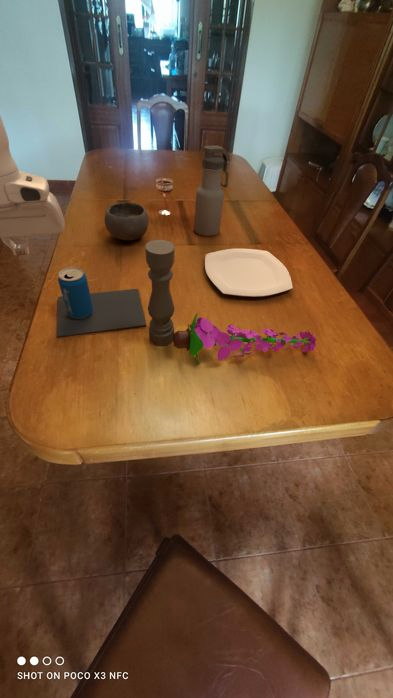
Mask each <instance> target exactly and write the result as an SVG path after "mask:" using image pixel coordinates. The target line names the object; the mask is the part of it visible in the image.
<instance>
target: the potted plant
mask: <svg viewBox="0 0 393 698" xmlns="http://www.w3.org/2000/svg"><path fill="white" fill-rule="evenodd" d="M198 313H199V312H198V311H197V312H196V313H195V316H194V317H193V319H192V321H191V323H188V324H187V328H186V330H177V331H175V332H174V335H173V342H172V344H173V347H175V348H176V349H179V350H180V349H185V350H186V351H187V352H188V351H189V355H190V356H191V357H195V359H196V360H197V362H198V364H200V359H199V354H198V353H199V352H200V351H202V349H203V348H205V349H206V350H209V349H211V348H212V347H217V345H218V346H221V347H220V348H219V349H218V350H217V353H216V358H217V360H218V361H223V360H226V359H227V358H229V356H230V355H231V353H232V352H236V351H238V350H240V352H241V354H237V355H233V356H231V358H236V359H238V358H242V357H246V356H249V355H251V354H253V353H255V352H256V351H260V350H262V351H263V352H265V353H266V352H268V351H269V349H271V350H273V352H274V353H276V352H278V351H280V350H281V349H283V348H284V347H285V346H286V348H285V351H286V350H288V348H289V346H288V344H291V345H290V349H292V348H293V349H298V348H299V347H300V346H302V345H303V346H304V347H303V348H302V350H301V352H302V353H307V352H308V351H309V352H313V351H314V350H315V349H316V342H317V338H316V337H315V336H314V334H313V332H310V331H309V329H307V330H306V331H299V335H298V334H294V335H293V336H292V337H290V336H289V335H288V334H287V333H285V332H283V331H282V332H275V331H274V329H272V328H264V329H262V330H261V333H264V335H266V337H262V336H261V335H259V333H258V332H257V331H253V330H250V329H248V328H247V329H246V328H245V329H243V328H242V330H241V329H240V328H237V327H236V326H235V325H233V324H229V325H228V326H227V327H226V328H225V329H226V332H224V331H221V330H220V329H219V328H218V327H217V326H216V325H214V324H213V323H212V322H211V321H210V320H209V319H208V318H204V317H201V316H199V317H198ZM279 335H280V336H281V338H280V337H278V336H279ZM300 338H301V339H300ZM253 343H256V345H255V350H256V351H255V350H254V351H251V349H252V345H253ZM242 346H243V348H242ZM249 351H250V352H249ZM245 352H246V353H245Z"/></svg>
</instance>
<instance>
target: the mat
mask: <svg viewBox="0 0 393 698" xmlns="http://www.w3.org/2000/svg"><path fill="white" fill-rule="evenodd" d="M90 296H91V301H92V305H93V312H92V313H91V314H90V315H89V316H88V317H86V318H83V319H76V318H72V317H70V316H69V315H68V313H67V309H66V306H65V302H64V299H63V296H62V295H60V296H58V297H57V309H56V310H57V311H56V313H57V314H56V319H57V320H56V335H55V336H56V338H57V339H58V338H65V337H74V336H81V335H82V336H83V335H87V334H88V335H89V334H95V333H96V334H97V333H103V332H112V331H119V330H127V329H135V328H143V327H147V326H148V325H147V320H146V317H145V312H144V308H143V304H142V300H141V299H142V298H141V296H140V291H139V288H131V289H130V288H129V289H121V290H111V291H110V290H109V291H102V292H101V291H100V292H90Z"/></svg>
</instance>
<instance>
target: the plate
mask: <svg viewBox="0 0 393 698" xmlns="http://www.w3.org/2000/svg"><path fill="white" fill-rule="evenodd" d="M204 269H205V273H206V275H207V277H208V279H209V280H210V281H211V283H212V284H213V285H214V286H215V287H216V289H217V290H219V291H220V292H221V294H223V295H229V296H238V297H251V298H252V297H253V298H255V297H257V298H259V297H260V298H261V297H269V296H273V295H277V294H281V293H285V292H287V291H290V290H292V289H294V287H293V281H292V278H291V274H290V273H289V270H288V269H287V267H286V266H285V264H283V263H282V262H281V261H280V259H278V258H277V257H275V256H274V255H273V254H272V253H270V252H269V251H268V250H262V249H255V248H254V249H253V248H239V247H238V248H227V249H222V250H221V249H220V250H217V251H212V252H208V253H205V256H204Z"/></svg>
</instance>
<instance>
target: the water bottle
mask: <svg viewBox="0 0 393 698" xmlns="http://www.w3.org/2000/svg"><path fill="white" fill-rule="evenodd" d="M203 152H204V155H203V156H202V159H201V169H202V173H201V185H200V186H198V187H197V188H196V192H195V206H194V207H195V208H194V221H193V222H194V223H193V230H194V232H195V233H196V234H197V235H199V236H203V237H214V236H216V235H218V234H219V233H220V229H221V221H222V214H223V205H224V198H225V192H224V189H223V188H222V187H224V188H227V187H228V184H229V177H230V174H229V171H228V166H229V165H230V163H231V157H230V154H229V152H228V151H227V149H225V148H224V147H222V146H220V145H205V146H203ZM217 153H218V154H217ZM219 153H220V154H221V155H220V154H219ZM223 172H224V173H225V183H224V182H222V175H223V174H222V173H223ZM221 186H222V187H221Z"/></svg>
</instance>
